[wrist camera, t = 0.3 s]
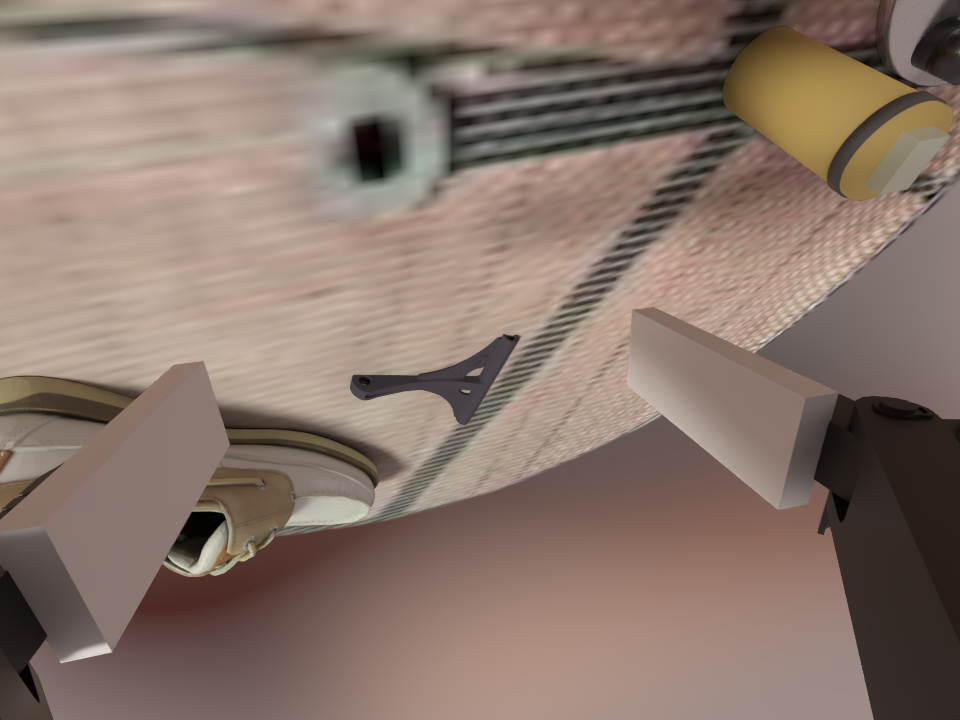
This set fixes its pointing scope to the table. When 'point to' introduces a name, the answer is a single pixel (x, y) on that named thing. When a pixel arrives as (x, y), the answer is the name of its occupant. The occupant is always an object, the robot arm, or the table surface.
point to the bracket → (445, 380)
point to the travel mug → (836, 113)
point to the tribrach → (920, 40)
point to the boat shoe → (228, 495)
